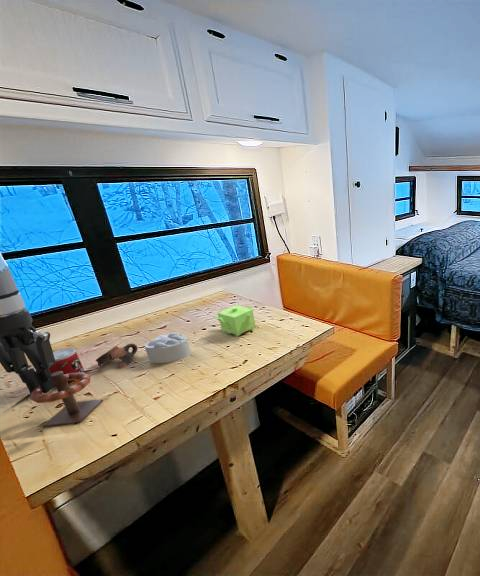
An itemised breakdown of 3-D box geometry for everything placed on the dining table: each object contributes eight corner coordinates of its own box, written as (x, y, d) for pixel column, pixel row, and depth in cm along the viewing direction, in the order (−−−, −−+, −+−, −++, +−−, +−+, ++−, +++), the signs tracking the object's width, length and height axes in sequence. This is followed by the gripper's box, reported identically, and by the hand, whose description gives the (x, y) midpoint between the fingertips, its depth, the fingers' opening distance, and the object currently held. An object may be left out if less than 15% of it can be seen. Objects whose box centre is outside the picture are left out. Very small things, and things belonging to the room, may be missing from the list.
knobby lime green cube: (256, 335, 130) (251, 311, 126) (219, 342, 125) (213, 317, 121) (257, 321, 143) (253, 299, 139) (224, 326, 139) (218, 304, 135)
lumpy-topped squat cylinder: (165, 350, 120) (159, 330, 117) (197, 350, 120) (192, 330, 117) (145, 365, 111) (138, 344, 108) (180, 365, 110) (174, 344, 107)
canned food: (74, 388, 99) (60, 360, 95) (48, 390, 99) (33, 361, 95) (93, 374, 106) (82, 347, 102) (69, 376, 106) (56, 348, 102)
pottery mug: (115, 376, 106) (95, 359, 103) (108, 379, 111) (89, 363, 108) (148, 351, 115) (130, 335, 112) (140, 355, 120) (123, 340, 117)
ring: (18, 406, 78) (15, 400, 77) (56, 378, 89) (54, 373, 88) (70, 401, 80) (67, 395, 79) (101, 375, 91) (99, 369, 90)
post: (44, 430, 83) (21, 386, 78) (71, 406, 91) (51, 365, 86) (81, 425, 84) (61, 382, 79) (104, 403, 92) (87, 362, 87)
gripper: (52, 304, 80) (85, 378, 88) (-16, 309, 78) (24, 385, 86) (25, 316, 73) (63, 396, 81) (-50, 322, 71) (-3, 403, 79)
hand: (43, 390), depth 84 cm, fingers closed on ring, 2 cm apart
